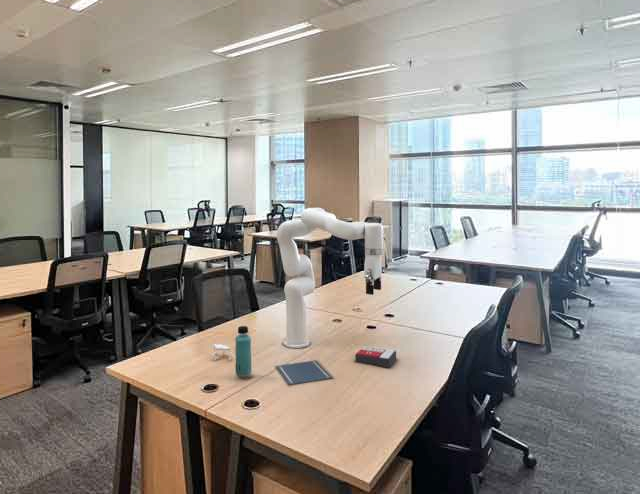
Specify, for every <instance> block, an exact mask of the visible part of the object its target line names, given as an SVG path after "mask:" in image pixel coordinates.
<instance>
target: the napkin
mask: <svg viewBox="0 0 640 494" xmlns="http://www.w3.org/2000/svg"><path fill="white" fill-rule="evenodd" d="M275 367H276V369H277V370H278V372H280V374H281V376H282V377H283V378H284V379H283V380H285V382H286V383H287V384H288V385H289V386H293V385H299V384H306V383H312V382H318V381H324V380H331V379H333V376H332V375H331V374H330V373H329V372H328V371H327V370H326V369H325V367H323V366H322V365H321V364H320V363H319V362H318V361H317V360H310V361H304V362H303V361H302V362H296V363H289V364H283V365H281V364H280V365H276V366H275Z"/></svg>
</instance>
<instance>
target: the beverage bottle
mask: <svg viewBox="0 0 640 494" xmlns="http://www.w3.org/2000/svg"><path fill="white" fill-rule="evenodd" d="M248 333H249V327H248V326H247V325H240V326H238V327H237V334H238V335H237V336H236V337H235V339H234V340H235V348H234V350H235V365H234V366H235V374H236V376H239V377H247V376H250V375H251V374H252V368H253V367H252V337H251V336H250V335H249V334H248Z"/></svg>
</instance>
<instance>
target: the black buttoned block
mask: <svg viewBox="0 0 640 494" xmlns="http://www.w3.org/2000/svg"><path fill="white" fill-rule="evenodd" d="M354 355H355V356H354V357H355V362H356V363H363V364H370V365H377V366H379V367H380V368H386V369H387V368H388V369H390V368H391V366H393V364H394V363H395V361H396V360H397V350H395V349H390V348H389V349H386V348H384V347H383V348H382V347H374V346H366V345H363V347H362V348H360V349H359V350H358V351H357V352H356V353H355V354H354Z"/></svg>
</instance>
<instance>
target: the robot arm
mask: <svg viewBox="0 0 640 494" xmlns="http://www.w3.org/2000/svg"><path fill="white" fill-rule="evenodd" d="M317 229H318V230H321V231H324V232H327V233H329V234H330V235H332V236H334V237H336V238H340V239H343V240H347V241H355V240H360V239H364V256H365V257H364V267H363V278H364V279H365V294H366V295H369V296H373V295H374V294H375V293H374V291H375V290H377V291H381V290H382V274H383V271H382V270H383V265H382V257H383V255H384V250H383V247H384V246H383V245H384V236H383V235H384V234H383V233H384V229H383V224H382V223H379V222H367V221H352V222H348V221H345V220H341V219H338V218H337V216H336V215H335V214H334V213H332V212H327V211H326V210H325V209H324V208H321V207H308V208H305V209H303V211H302V212H301V214H300V218H299V219H289V220H286V221H283V222H282V223H280V225H279V226H278V228H277V231H276V239H277V243H278V246H279V251H280V257H281V262H282V268H283V272H284V274H285V275H286V276H288V277H294V276H297V277H294V278H291V279H289V280H288V281H286V283H285V284H284V288H283V291H284V297H285V305H286V306H285V309H286V338H285V339H284V340H283V345H284V346H285V347H287V348H291V349H302V348H306V347H308V346H309V345H310V340H309V339H308V338H307V306H306V302H305V300H304V297H306V296H309V295H311V294H312V293H314V291H315V289H316V280H315V273H314V270H313V265H312V261H311V259H310V258H309V256H307V255H305V254H304V253H303V254H302V253H299V249H298V246H297V243H296V242H295V240H294V238H301V237H306V236H308V235H309V234H311V233H313V232H314V231H316V230H317Z"/></svg>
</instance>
